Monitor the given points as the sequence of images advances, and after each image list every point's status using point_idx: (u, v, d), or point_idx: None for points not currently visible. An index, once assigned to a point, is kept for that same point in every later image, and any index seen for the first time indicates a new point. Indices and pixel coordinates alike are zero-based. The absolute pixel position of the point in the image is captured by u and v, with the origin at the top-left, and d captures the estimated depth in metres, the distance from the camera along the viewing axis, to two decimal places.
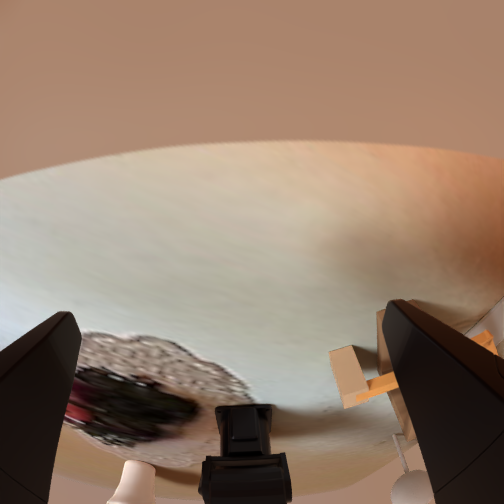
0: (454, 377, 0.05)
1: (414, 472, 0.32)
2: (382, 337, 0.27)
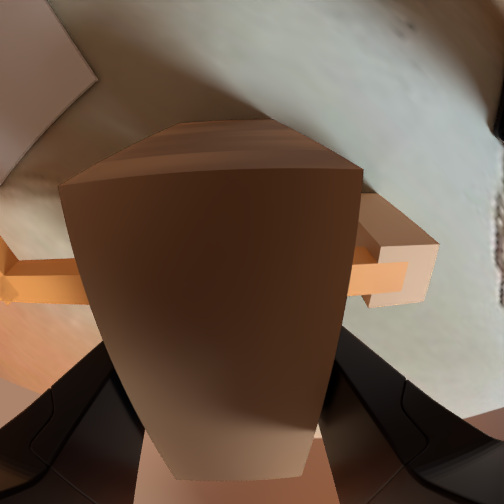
0: (348, 402, 0.05)
1: None
2: None
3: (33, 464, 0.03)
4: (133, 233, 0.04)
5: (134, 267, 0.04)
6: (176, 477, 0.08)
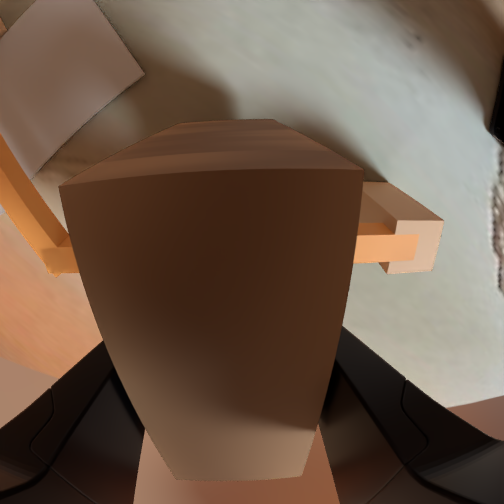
0: (348, 402, 0.05)
1: None
2: None
3: (33, 464, 0.03)
4: (133, 233, 0.04)
5: (134, 267, 0.04)
6: (176, 477, 0.08)
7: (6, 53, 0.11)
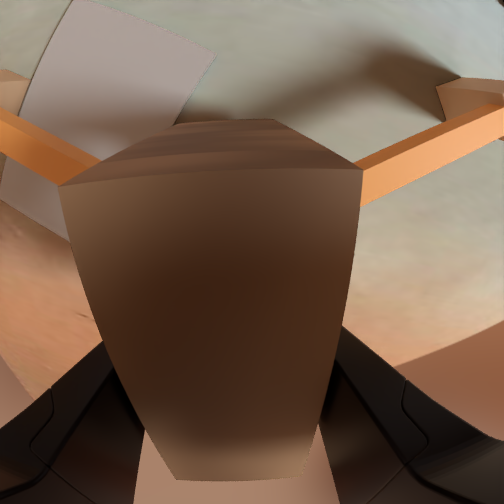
0: (348, 402, 0.05)
1: None
2: None
3: (33, 464, 0.03)
4: (133, 234, 0.04)
5: (134, 268, 0.04)
6: (176, 477, 0.08)
7: (43, 99, 0.12)
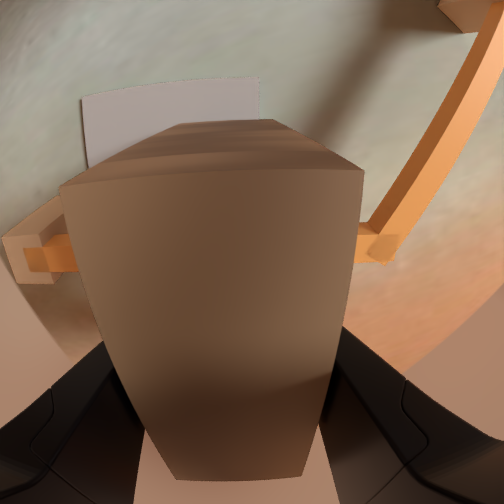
0: (348, 402, 0.05)
1: None
2: None
3: (33, 464, 0.03)
4: (134, 234, 0.04)
5: (134, 268, 0.04)
6: (176, 477, 0.08)
7: None
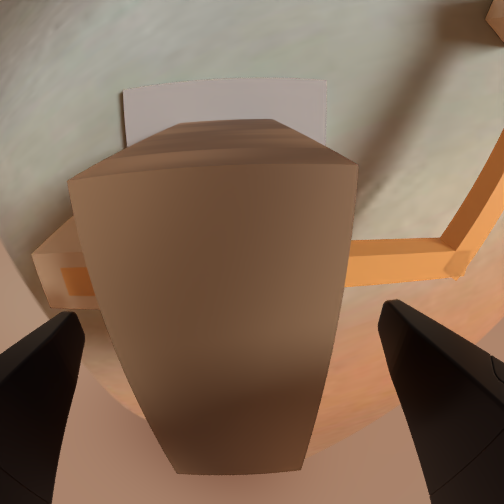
0: (450, 379, 0.05)
1: None
2: None
3: None
4: (139, 226, 0.04)
5: (140, 259, 0.04)
6: (177, 471, 0.08)
7: None
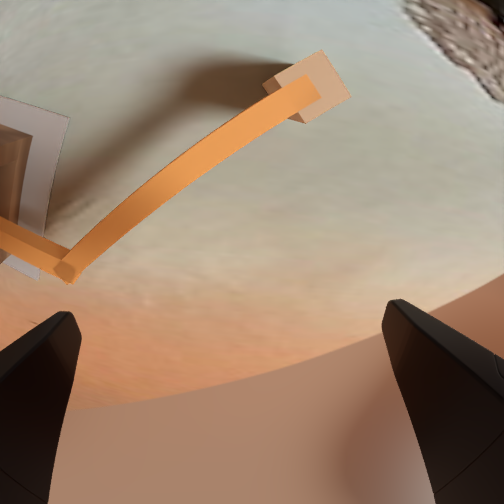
0: (454, 377, 0.05)
1: None
2: None
3: None
4: None
5: None
6: None
7: None
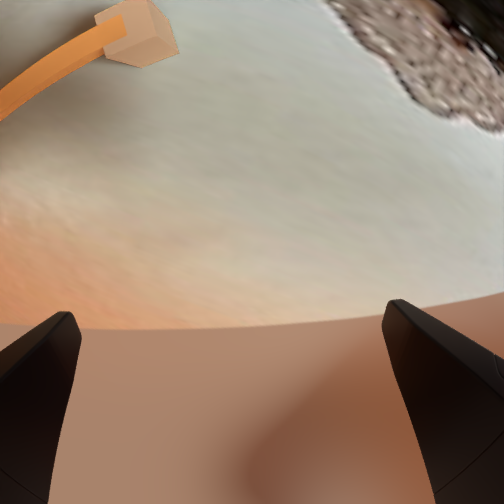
0: (454, 377, 0.05)
1: None
2: None
3: None
4: None
5: None
6: None
7: None
